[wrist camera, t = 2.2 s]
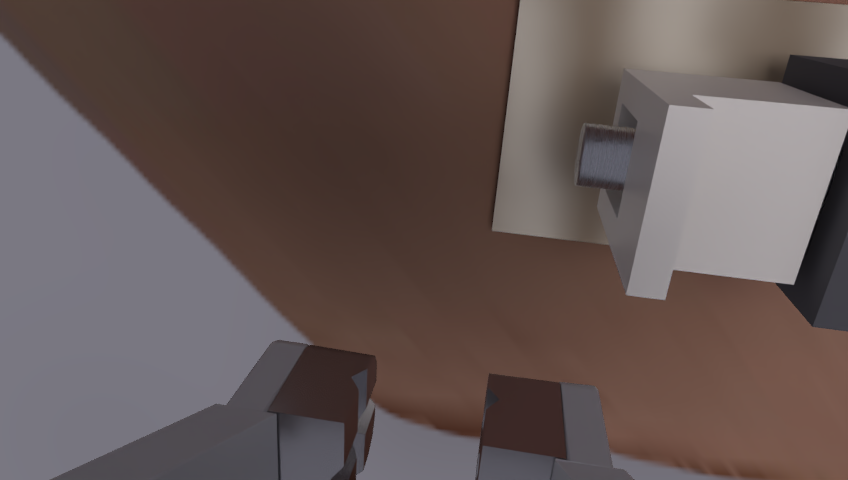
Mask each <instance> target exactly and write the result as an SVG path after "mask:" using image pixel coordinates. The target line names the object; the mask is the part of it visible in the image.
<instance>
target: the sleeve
mask: <svg viewBox="0 0 848 480" xmlns="http://www.w3.org/2000/svg"><path fill="white" fill-rule="evenodd" d="M613 126H620V127H630V128H636V132H635V137H634V141H633V146H632V151H631V156H630V161H629V165H628V170H627V175H626V180H625V184H624V189H623V191H617V190H608V189H600V194H599V199H598V204H597V209H598V212H599V215H600V218H601V221H602V224H603V227H604V230H605V233H606V236H607V239H608V242H609V245H610V248H611V251H612V254H613V257H614V260H615V263H616V266H617V269H618V272H619V275H620V278H621V281H622V284H623V287H624V290H625V293H626V295H629V296H637V297H645V298H652V299H660V300H665V299H666V295H667V291H668V287H669V283H670V279H671V275H672V272H673V270H679V271H687V272H695V273H703V274H711V275H719V276H727V277H735V278H743V279H751V280H759V281H767V282H775V283H783V284H791V285H794V283H795V280H796V277H797V274H798V271H799V268H800V266H801V263H802V260H803V257H804V254H805V251H806V248H807V245H808V243H809V240H810V237H811V234H812V231H813V228H814V225H815V222H816V220H817V217H818V214H819V211H820V208H821V205H822V202H823V199H824V196H825V194H826V191H827V188H828V185H829V182H830V179H831V176H832V173H833V171H834V168H835V165H836V162H837V159H838V156H839V153H840V150H841V147H842V145H843V142H844V139H845V136H846V133H847V130H848V107H846V106H843V105H840V104H837V103H835V102H832V101H829V100H826V99H824V98H821V97H818V96H816V95H813V94H810V93H807V92H805V91H802V90H799V89H796V88H794V87H791V86H788V85H786V84H783V83H780V82H772V81H761V80H750V79H738V78H727V77H716V76H705V75H693V74H682V73H671V72H660V71H648V70H637V69H626V68H624V70H623V75H622V80H621V85H620V90H619V95H618V101H617V106H616V111H615V116H614V121H613Z"/></svg>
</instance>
